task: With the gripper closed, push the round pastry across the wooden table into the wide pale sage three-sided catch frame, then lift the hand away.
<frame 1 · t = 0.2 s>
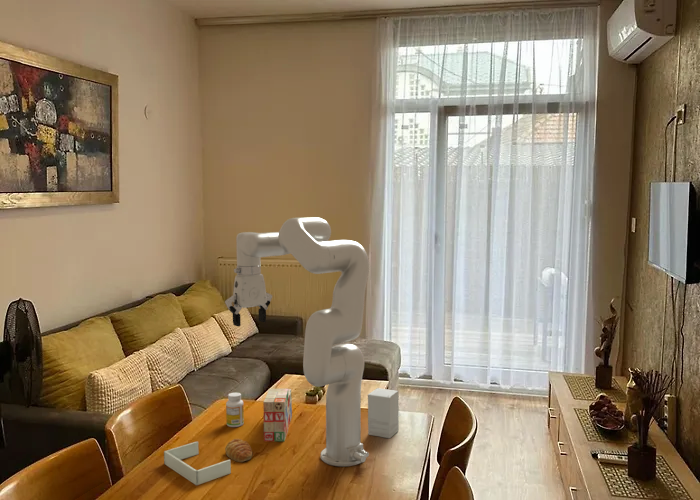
hand: (249, 323, 203), 31 cm above the table, tool pointing down, fingers open, 9 cm apart
stack of blocks: (278, 429, 196), on the table
pastry: (240, 456, 176), on the table
supplement bottle: (235, 424, 199), on the table
catch frame: (196, 468, 167), on the table
supplement box: (383, 433, 192), on the table
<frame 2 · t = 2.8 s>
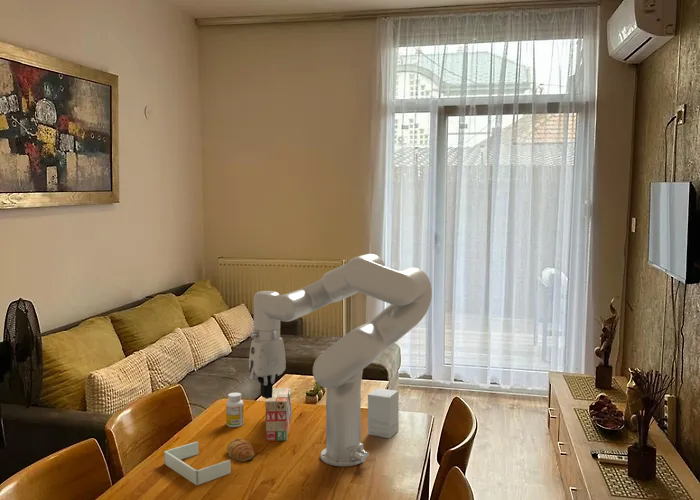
hand: (266, 396, 181), 14 cm above the table, tool pointing down, fingers closed
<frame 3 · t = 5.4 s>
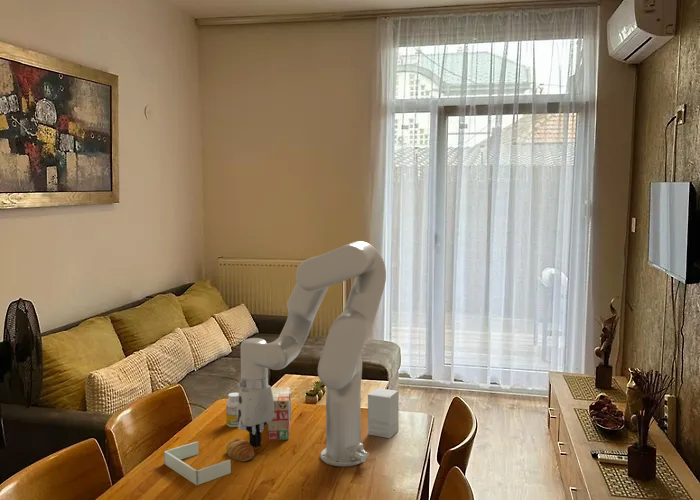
hand: (255, 445, 179), 1 cm above the table, tool pointing down, fingers closed
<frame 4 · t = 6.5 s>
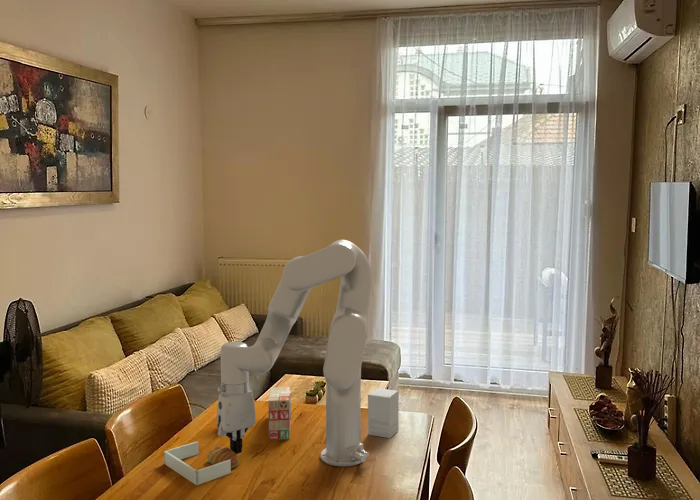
hand: (236, 451, 175), 1 cm above the table, tool pointing down, fingers closed
pastry: (224, 463, 171), on the table, touching gripper
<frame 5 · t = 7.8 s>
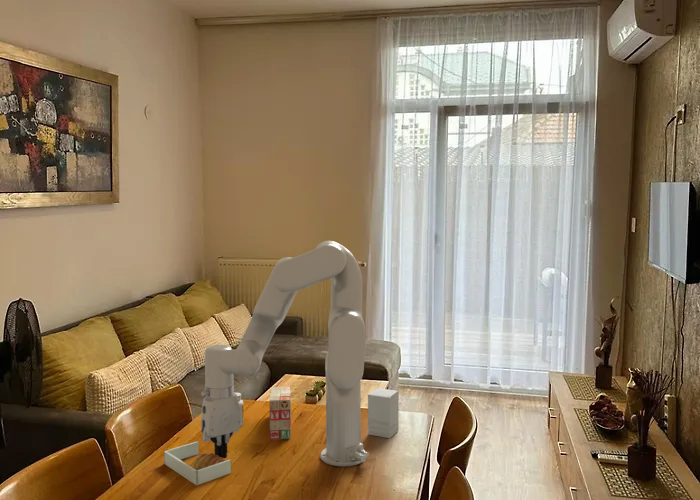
hand: (221, 457, 171), 1 cm above the table, tool pointing down, fingers closed
pastry: (211, 470, 167), on the table
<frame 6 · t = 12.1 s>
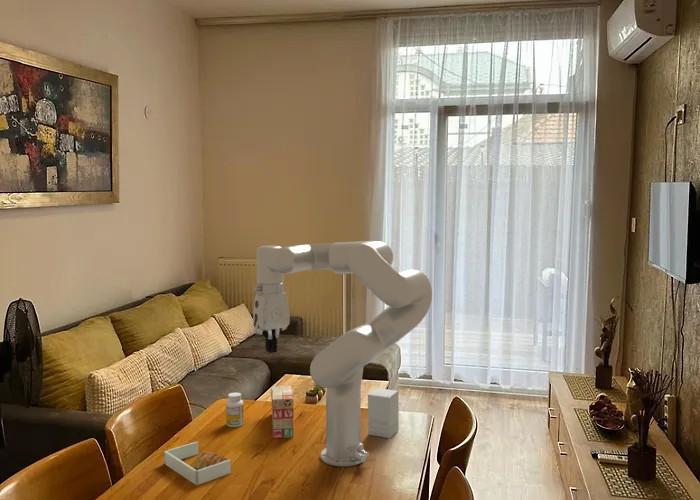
hand: (271, 351, 182), 27 cm above the table, tool pointing down, fingers closed
at the end: pastry inside the target area (4.2 cm from its centre), on the table; pastry moved 9.6 cm from its start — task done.
